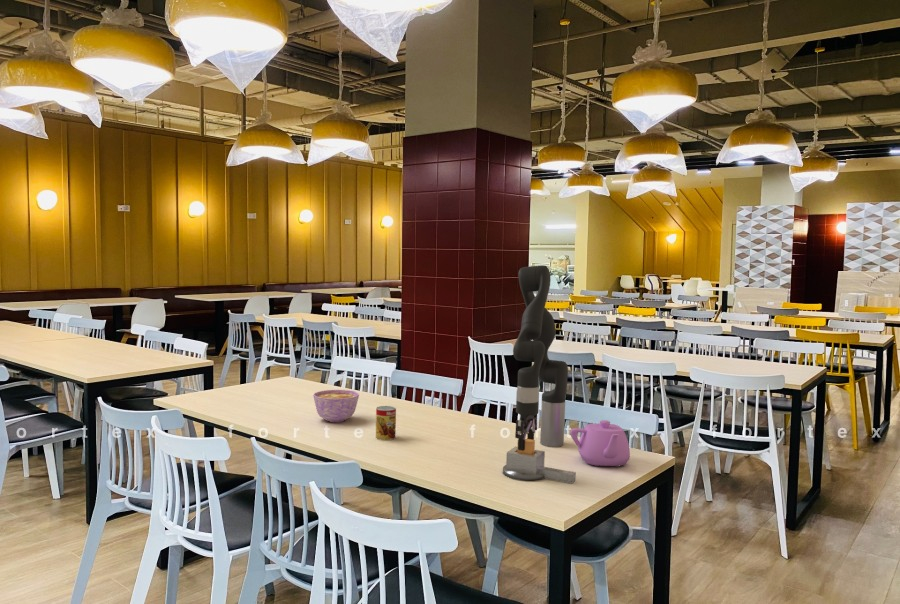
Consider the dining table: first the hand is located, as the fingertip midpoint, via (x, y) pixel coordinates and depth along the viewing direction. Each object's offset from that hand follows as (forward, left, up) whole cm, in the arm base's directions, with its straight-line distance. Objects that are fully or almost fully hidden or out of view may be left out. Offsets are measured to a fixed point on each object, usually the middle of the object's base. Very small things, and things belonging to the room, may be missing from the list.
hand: (525, 447), depth 216 cm
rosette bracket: (0, +5, -9) cm, 10 cm away
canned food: (-12, -64, -9) cm, 66 cm away
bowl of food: (-24, -98, -9) cm, 101 cm away
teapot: (-27, +20, -9) cm, 35 cm away
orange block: (0, 0, -8) cm, 8 cm away
